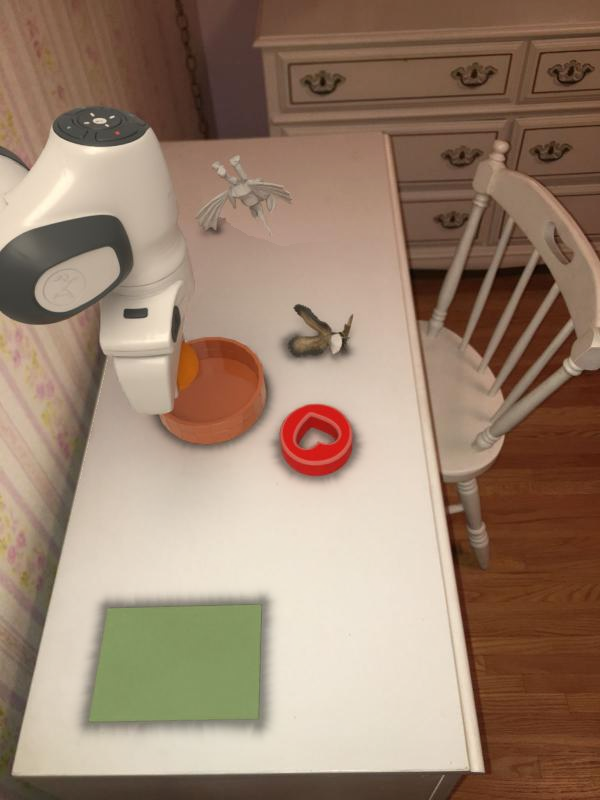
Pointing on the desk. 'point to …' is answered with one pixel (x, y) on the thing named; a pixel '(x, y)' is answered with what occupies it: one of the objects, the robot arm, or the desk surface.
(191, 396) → the pot
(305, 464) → the decorative ornament
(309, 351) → the eagle figurine
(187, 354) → the orange
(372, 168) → the desk surface
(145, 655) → the felt mat
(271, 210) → the grey winged dragon figurine
